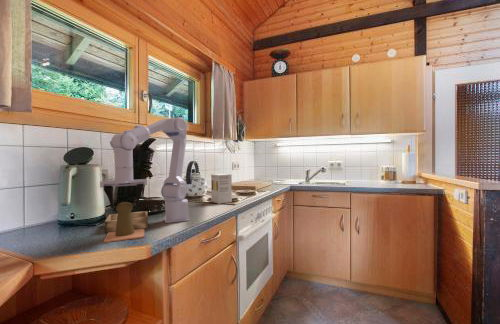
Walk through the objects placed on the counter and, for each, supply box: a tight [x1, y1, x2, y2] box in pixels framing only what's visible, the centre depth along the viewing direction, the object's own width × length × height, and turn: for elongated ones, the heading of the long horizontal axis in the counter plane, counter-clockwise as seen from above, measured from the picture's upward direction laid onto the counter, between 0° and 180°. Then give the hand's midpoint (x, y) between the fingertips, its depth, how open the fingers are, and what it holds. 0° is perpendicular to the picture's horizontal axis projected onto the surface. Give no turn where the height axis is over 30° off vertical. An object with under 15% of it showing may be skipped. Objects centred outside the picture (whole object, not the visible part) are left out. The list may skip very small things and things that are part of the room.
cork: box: [115, 201, 135, 236], centre depth 89 cm, size 6×6×11 cm
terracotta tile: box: [103, 228, 145, 244], centre depth 88 cm, size 12×10×1 cm
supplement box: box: [210, 173, 233, 205], centre depth 152 cm, size 10×9×17 cm
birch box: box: [104, 210, 149, 234], centre depth 101 cm, size 15×13×4 cm
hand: (125, 206), depth 88 cm, fingers open, 7 cm apart
